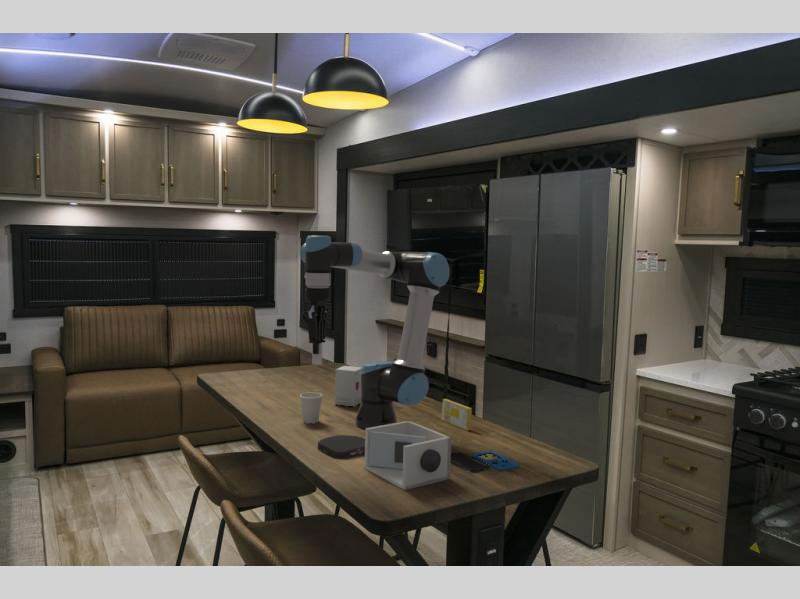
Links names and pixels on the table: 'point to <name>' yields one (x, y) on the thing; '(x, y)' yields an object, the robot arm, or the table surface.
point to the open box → (414, 456)
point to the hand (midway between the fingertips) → (317, 364)
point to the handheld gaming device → (497, 461)
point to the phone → (467, 462)
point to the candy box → (456, 414)
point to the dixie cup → (311, 406)
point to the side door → (389, 448)
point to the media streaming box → (342, 446)
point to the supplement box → (348, 385)
